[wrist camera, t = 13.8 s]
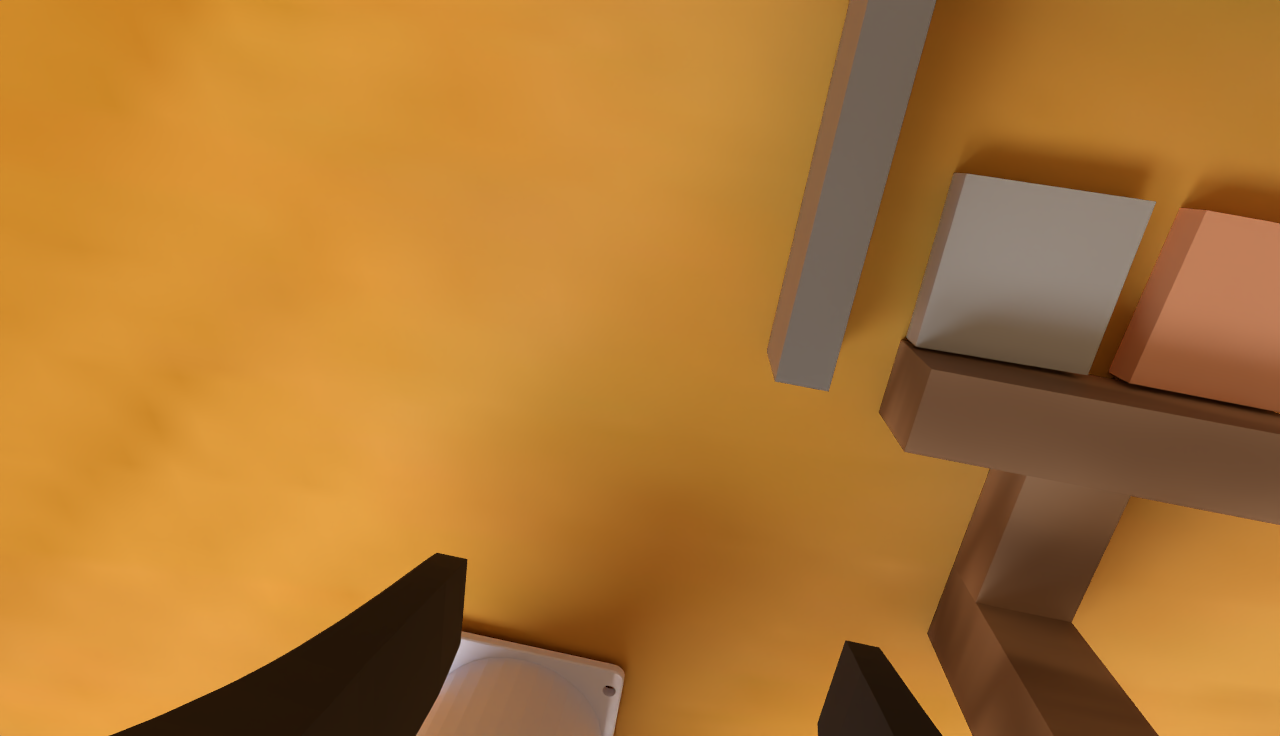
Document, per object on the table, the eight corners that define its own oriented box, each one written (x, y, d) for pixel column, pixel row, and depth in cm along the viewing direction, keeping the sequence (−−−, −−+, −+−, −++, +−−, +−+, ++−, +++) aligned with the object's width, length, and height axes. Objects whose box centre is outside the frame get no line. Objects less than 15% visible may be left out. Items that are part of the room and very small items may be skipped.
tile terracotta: (1263, 399, 20) (1305, 417, 18) (1099, 367, 20) (1129, 383, 19) (1347, 238, 18) (1400, 245, 17) (1168, 206, 18) (1206, 210, 17)
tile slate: (1061, 360, 20) (1088, 375, 19) (901, 333, 20) (915, 346, 19) (1122, 198, 19) (1155, 201, 17) (948, 172, 19) (966, 173, 17)
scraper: (1124, 675, 23) (1367, 980, 14) (817, 610, 23) (875, 866, 15) (1263, 407, 19) (1688, 597, 11) (901, 340, 20) (1036, 470, 12)
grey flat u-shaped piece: (1381, 465, 20) (1494, 517, 17) (766, 350, 21) (775, 381, 18) (1712, -84, 15) (1948, -142, 12) (895, -195, 16) (934, -271, 13)
